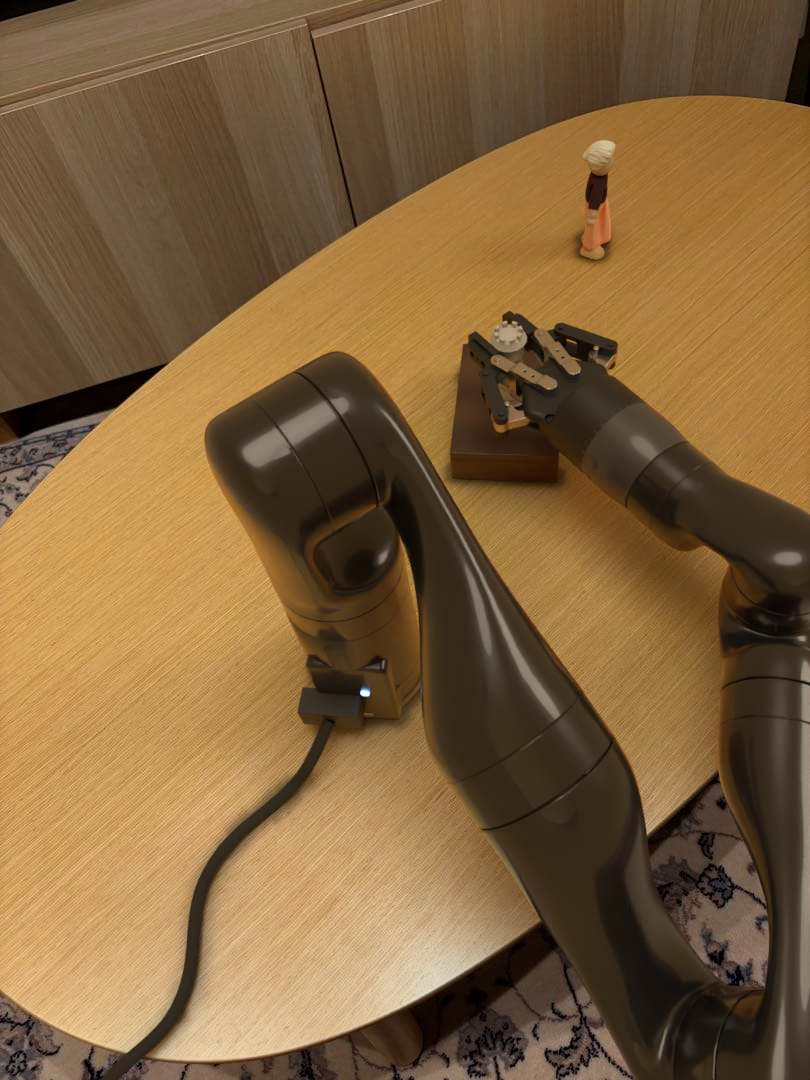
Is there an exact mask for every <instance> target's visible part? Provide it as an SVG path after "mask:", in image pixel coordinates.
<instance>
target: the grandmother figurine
mask: <svg viewBox="0 0 810 1080" xmlns="http://www.w3.org/2000/svg"><path fill="white" fill-rule="evenodd" d="M615 152H616V144H615V142H613V141H612V140H607V139H601V140H597V141H594V142H593V143H592V144H591V145H590V146H588V147H587V148H586V149H585V151H584V152H583V154H582V157H581V158H582V161H584V162H586V164H587V167H588V168H589V170H590V173H589V176H588V179H587V182H586V188H585V192H584V193H585V194H584V196H585V197H584V198H585V206H584V207H585V228H584V233H583V234H582V235H581V236H580V242H581V243H582V247H581V248H580V250H579V255H580V256H582V257H585V258H588V259H591V260H601V259H602V258H604V256H605V249H604V248H603V247H602V246H601V245H603V244H606V243H608V242H609V241H610V240H611V238H612V218H611V211H610V204H609V198H608V181H609V173H610V172H611V171H612V169H613V168H614V165H615V158H614V154H615Z"/></svg>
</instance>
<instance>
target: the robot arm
mask: <svg viewBox="0 0 810 1080" xmlns="http://www.w3.org/2000/svg"><path fill="white" fill-rule="evenodd" d="M501 320H502V321H501V323H502V322H504V321H507V325H512V321H514V322H517V323H518V327H519V326H522V328H523V331H524V332H525V333H526V335H527V342H526V344H525V345H524V346H523V347H524V349H525V350H526V351H527V352H529V351H531V350H532V351H534V355H535V357H536V358H537V359H538V361H539V362H540V363H541V365H542V366H541V367H539V368H536V369H534V370H533V369H532V368H530V367H528V366H526V365H525V364H523V363H521V362H519V363H517V364H516V363H514V362H512V361H510V360H509V359H507V358H505V357H503V356H502V355H500V352H499V351H498V350H497V349H496V348H495V347H494V346H492V345H491V342H490V341H488V340H487V339H486V338H485V337H484V336H482V335H481V334H480V333H479V332H478V331H476V330H474V331H472V332H471V333H469V334H468V335H467V340H468V342H467V344H468V354H469V356H470V358H471V359H472V360H473V361H474V362H475V363H477V365H479V366H480V367H481V368H482V369H483V370H481V371H480V372H479V386H480V395H481V398H482V401H483V404H484V406H485V409H486V412H487V414H488V417H489V420H490V423H491V425H492V428H493V431H494V433H495V436H496V437H498V438H505V437H507V436H508V434H509V429H513V428H517V427H521V426H525V425H526V426H527V427H528V428H530V429H532V430H535V431H538V432H540V433H542V434H544V435H545V436H546V438H547V439H548V440H549V442H550V443H551V444H552V445H553V446H554V447H555V448H556V449H557V450H558V451H559V454H561V455H562V456H563V457H565V458H566V460H568V462H570V463H571V464H572V465H573V466H574V467H575V468H576V469H578V471H580V472H581V473H582V474H583V476H585V477H586V478H587V479H589V481H590V482H592V483H593V484H594V485H595V486H596V488H598V489H599V490H600V491H602V493H604V494H605V495H606V496H607V497H609V498H610V499H612V500H613V501H614V502H616V503H617V504H619V505H621V506H622V507H623V508H625V510H627V511H628V512H629V513H630V514H631V515H632V516H633V517H634V518H636V520H638V521H639V522H640V523H641V524H642V525H643V526H644V527H645V528H646V529H648V530H649V531H650V532H651V533H652V534H653V535H654V536H655V537H657V538H658V540H660V541H661V542H662V543H664V544H665V545H666V546H668V547H669V548H671V549H672V550H675V551H678V552H681V553H683V552H684V553H687V552H693V551H696V550H698V549H700V548H703V547H705V548H708V549H709V550H710V551H713V552H714V553H716V554H717V555H719V556H720V557H721V558H723V560H725V561H726V562H727V563H728V566H727V568H726V571H725V573H724V576H723V579H722V581H721V584H720V589H719V595H718V603H717V604H718V605H717V606H718V607H717V608H718V609H717V631H718V643H719V652H720V660H721V666H722V674H721V679H720V686H719V687H720V688H719V700H718V701H719V704H718V719H717V738H716V761H717V771H718V777H719V782H720V786H721V790H722V794H723V796H724V799H725V802H726V805H727V808H728V810H729V812H730V814H731V817H732V819H733V822H734V823H735V826H736V828H737V830H738V833H739V834H740V837H741V838H742V841H743V843H744V845H745V847H746V850H747V852H748V855H749V857H750V859H751V861H752V863H753V866H754V868H755V870H756V874H757V877H758V881H759V884H760V887H761V890H762V893H763V897H764V903H765V908H766V917H767V924H768V927H767V928H768V954H767V966H766V973H765V980H764V981H765V982H764V987H759V986H746V985H745V986H741V985H728V984H727V983H725V982H724V981H723V980H721V979H720V978H719V976H717V975H716V974H715V973H714V972H713V971H712V970H711V969H710V967H709V966H708V965H707V964H706V963H705V961H703V959H702V958H701V957H700V955H699V954H698V953H697V951H696V950H695V949H694V948H693V946H692V945H691V943H690V941H689V940H688V938H687V937H686V936H685V934H684V933H683V931H682V930H681V928H680V927H679V926H678V924H677V922H676V921H675V919H674V918H673V917H672V915H671V914H670V912H669V910H668V908H667V907H666V905H665V903H664V901H663V900H662V897H661V895H660V893H659V890H658V888H657V885H656V882H655V879H654V875H653V870H652V864H651V857H650V852H649V841H648V833H647V832H648V831H647V824H646V817H645V811H644V806H643V801H642V795H641V791H640V786H639V783H638V779H637V776H636V774H635V771H634V769H633V766H632V764H631V761H630V760H629V758H628V756H627V754H626V752H625V751H624V749H623V747H622V746H621V744H620V742H619V741H618V739H617V737H616V736H615V735H614V733H613V732H612V730H611V729H610V727H609V726H608V724H607V723H606V722H605V720H604V719H603V717H602V716H601V714H600V713H599V712H598V710H597V708H596V707H595V705H594V704H593V702H592V701H591V700H590V698H589V697H588V696H587V693H585V691H584V689H583V688H582V686H581V685H580V684H579V682H578V681H577V680H576V678H574V676H573V675H572V673H571V671H569V669H568V668H567V667H566V665H565V664H564V662H563V661H562V660H561V659H560V658H559V655H557V653H556V652H555V651H554V649H553V648H552V646H551V645H550V644H549V642H548V641H547V640H546V638H545V637H544V636H543V634H542V633H541V631H540V630H539V628H538V627H537V626H536V624H535V623H534V622H533V620H532V619H531V617H530V616H529V614H528V613H527V612H526V610H525V609H524V607H523V606H522V605H521V603H520V602H519V600H518V599H517V598H516V596H515V595H514V593H513V592H512V590H511V589H510V588H509V586H508V585H507V583H506V582H505V581H504V579H503V577H502V575H500V573H499V571H498V570H497V568H496V566H494V564H493V562H492V560H491V559H490V557H489V556H488V555H487V553H486V552H485V549H483V546H482V545H481V543H480V542H479V540H478V538H477V536H476V535H475V533H474V532H473V530H472V529H471V527H470V525H469V524H468V522H467V520H466V519H465V517H464V514H463V513H462V512H461V509H460V508H459V507H458V505H457V503H456V501H455V500H454V498H453V496H452V495H451V493H450V491H449V490H448V488H447V486H446V485H445V482H444V481H443V478H441V476H440V474H439V472H438V471H437V468H436V467H435V466H434V464H433V461H432V460H431V459H430V457H429V455H428V454H427V453H426V451H425V449H424V447H423V446H422V444H421V442H420V441H419V438H418V437H417V435H416V434H415V432H414V430H413V429H412V428H411V426H410V424H409V422H408V421H407V419H406V417H405V416H404V414H403V413H402V411H401V410H400V408H399V406H398V405H397V404H396V402H395V400H394V399H393V397H392V396H391V395H390V393H389V392H388V391H387V390H386V388H385V387H384V385H383V384H382V382H380V380H379V379H378V378H377V377H376V375H375V374H374V373H373V372H372V371H371V370H370V369H369V368H368V367H367V366H366V365H365V364H364V363H363V362H362V361H360V360H359V359H357V358H356V357H355V356H354V355H351V354H350V353H347V352H345V351H340V350H334V351H329V352H326V353H323V354H322V355H320V356H318V357H316V358H314V359H313V360H310V361H308V362H307V363H305V364H303V365H301V366H300V367H297V368H296V369H295V370H293V371H291V372H289V373H287V374H285V375H284V376H282V377H280V378H278V379H276V380H275V381H273V382H272V383H270V384H268V385H266V386H265V387H263V388H261V389H259V390H257V391H256V392H254V393H252V394H251V395H249V396H247V397H245V398H244V399H243V400H241V401H239V402H237V403H235V404H234V405H232V406H230V407H229V408H227V409H225V410H224V411H221V413H218V414H217V415H215V416H214V417H213V418H212V419H211V420H210V421H209V422H208V423H207V425H206V427H205V431H204V435H203V446H204V452H205V456H206V460H207V463H208V465H209V468H210V471H211V473H212V476H213V478H214V480H215V481H216V483H217V485H218V487H219V489H220V491H221V493H222V494H223V496H224V499H225V500H226V502H227V504H228V505H229V506H230V508H231V510H232V511H233V513H234V515H235V516H236V518H237V519H238V521H239V523H240V524H241V526H242V528H243V529H244V531H245V533H246V535H247V537H248V538H249V540H250V542H251V544H252V546H253V548H254V550H255V552H256V554H257V556H258V558H259V560H260V562H261V564H262V566H263V569H264V570H265V572H266V575H267V576H268V578H269V581H270V583H271V585H272V587H273V589H274V591H275V593H276V596H277V598H278V599H279V602H280V604H281V606H282V608H283V611H284V612H285V614H286V617H287V619H288V621H289V623H290V625H291V627H292V630H293V631H294V633H295V636H296V637H297V641H298V642H299V644H300V646H301V648H302V650H303V653H304V654H305V656H306V661H305V669H306V672H307V673H308V676H309V677H310V680H311V681H312V684H313V686H314V687H307V686H302V688H301V693H300V697H299V703H298V707H297V715H298V716H299V718H300V720H301V722H302V723H303V725H309V726H310V725H311V726H319V729H318V731H317V733H316V735H315V738H314V739H313V742H312V744H311V747H310V748H309V751H308V752H307V755H306V756H305V758H304V760H303V762H302V763H301V765H300V767H299V768H298V770H297V771H296V773H295V774H294V775H293V776H292V777H291V779H289V781H287V782H286V784H285V785H284V786H283V787H282V788H280V790H279V791H277V793H276V794H275V795H274V796H273V797H271V798H270V799H269V800H267V802H265V803H264V804H263V805H261V807H259V808H258V809H257V810H255V811H254V812H253V813H251V815H249V816H248V817H247V818H245V820H244V821H242V822H241V823H240V824H239V825H237V827H236V828H234V829H233V830H232V831H231V832H230V833H229V834H228V835H227V836H226V837H225V839H223V841H221V842H220V844H219V845H218V847H217V848H216V849H215V850H214V851H213V853H212V854H211V856H210V857H209V858H208V860H207V863H206V864H205V866H204V867H203V869H202V871H201V873H200V874H199V875H200V876H199V878H198V879H197V881H196V885H195V887H194V890H193V894H192V899H191V902H190V908H189V913H188V922H187V933H186V947H185V956H184V963H183V970H182V974H181V978H180V982H179V985H178V987H177V992H176V993H175V996H174V998H173V1000H172V1003H171V1004H170V1007H169V1008H168V1010H167V1012H166V1014H165V1015H164V1016H163V1018H162V1019H161V1020H160V1021H159V1022H158V1024H157V1025H156V1026H155V1027H154V1028H153V1029H152V1030H151V1031H150V1032H149V1033H148V1034H147V1035H146V1036H145V1037H143V1039H142V1040H140V1041H139V1042H138V1043H137V1044H136V1045H134V1046H133V1047H132V1048H131V1049H129V1050H128V1051H127V1052H126V1053H125V1054H124V1055H123V1056H121V1057H120V1058H119V1059H118V1060H117V1061H116V1062H115V1063H114V1064H113V1065H112V1066H111V1067H110V1068H109V1069H107V1071H106V1073H105V1074H104V1075H103V1076H102V1078H101V1080H120V1079H121V1078H122V1077H123V1076H124V1075H125V1074H126V1073H127V1072H128V1071H129V1070H131V1069H132V1068H133V1067H134V1066H136V1064H138V1063H139V1061H141V1060H142V1059H143V1058H144V1057H146V1056H148V1054H149V1053H151V1052H152V1050H154V1048H156V1047H157V1046H158V1045H159V1044H160V1043H161V1042H162V1041H163V1040H164V1039H165V1037H166V1036H168V1034H169V1033H170V1032H171V1031H172V1030H173V1028H174V1027H175V1025H176V1024H177V1023H178V1021H179V1019H180V1017H181V1016H182V1014H183V1012H184V1009H185V1008H186V1005H187V1003H188V1001H189V999H190V996H191V994H192V990H193V987H194V983H195V979H196V975H197V971H198V965H199V964H198V963H199V954H200V941H201V929H202V919H203V912H204V905H205V900H206V897H207V894H208V890H209V888H210V886H211V883H212V881H213V879H214V877H215V874H216V873H217V871H218V869H219V868H220V866H221V864H222V863H223V862H224V860H225V859H226V858H227V856H228V855H229V854H230V852H231V851H232V850H233V849H234V848H235V847H236V846H237V845H238V844H239V843H240V842H241V841H242V840H243V839H244V838H246V836H247V835H249V834H250V833H251V832H252V831H253V830H254V829H256V828H257V827H258V826H259V825H260V824H261V823H263V822H264V821H265V820H266V819H267V818H269V817H270V816H271V815H272V814H274V813H275V812H276V811H277V810H279V809H280V808H281V807H282V806H283V805H284V804H285V803H286V802H288V800H289V799H291V798H292V796H293V795H294V794H295V793H296V792H297V791H298V790H299V789H300V788H301V786H302V785H304V783H306V781H307V780H308V779H309V777H310V775H311V774H312V773H313V771H314V769H315V767H316V765H317V764H318V762H319V760H320V758H321V756H322V754H323V752H324V750H325V748H326V745H327V744H328V741H329V738H330V736H331V735H332V732H333V730H334V728H344V729H345V728H346V729H357V730H362V729H363V723H364V718H375V719H376V718H377V719H388V720H389V719H390V720H399V719H401V717H402V712H403V708H404V706H406V705H407V704H408V703H409V702H410V701H411V700H412V699H413V698H414V697H415V696H416V695H417V693H418V692H419V690H420V700H421V701H420V702H421V716H422V725H423V731H424V732H423V733H424V738H425V742H426V746H427V749H428V752H429V754H430V758H432V761H433V763H434V765H435V767H436V768H437V770H438V771H439V773H440V774H441V777H442V778H443V779H444V780H445V782H446V783H447V785H448V786H449V788H450V789H451V791H452V793H453V794H454V795H455V798H457V800H458V801H459V803H460V805H461V806H462V807H463V809H464V810H465V812H466V813H467V815H468V816H469V817H470V819H471V821H472V822H473V824H474V825H475V826H476V827H477V830H478V831H479V832H480V834H481V836H483V838H484V839H485V841H486V842H487V843H488V844H489V846H490V847H491V848H492V850H493V851H494V852H495V854H496V855H497V856H498V858H499V860H500V861H501V862H502V863H503V865H504V866H505V868H506V869H507V871H508V872H509V874H510V875H511V877H512V879H513V880H514V882H515V884H516V885H517V886H518V888H519V890H521V892H522V894H523V895H524V897H525V898H526V900H527V901H528V903H529V905H530V907H531V908H532V909H533V911H534V913H535V914H536V915H537V917H538V918H539V920H540V922H541V924H542V925H543V926H544V928H545V929H546V931H547V932H548V934H549V935H550V936H551V938H552V939H553V941H554V942H555V944H556V945H557V947H558V948H559V949H560V951H561V952H562V954H563V955H564V957H565V958H566V960H567V961H568V963H569V964H570V965H571V967H572V969H573V970H574V973H575V974H576V975H577V977H578V978H579V980H580V981H581V984H582V986H583V987H584V989H585V990H586V993H587V994H588V996H589V998H590V999H591V1002H592V1003H593V1006H594V1007H595V1008H596V1010H597V1012H598V1014H599V1016H600V1018H601V1019H602V1022H603V1023H604V1025H605V1028H606V1029H607V1031H608V1033H609V1035H610V1037H611V1038H612V1041H613V1042H614V1044H615V1047H616V1048H617V1050H618V1052H619V1053H620V1055H621V1057H622V1059H623V1061H624V1063H625V1065H626V1066H627V1068H628V1070H629V1073H630V1074H631V1076H632V1078H633V1080H810V513H809V512H808V511H806V510H804V509H803V508H801V507H799V506H797V505H795V504H793V503H791V502H789V501H787V500H785V499H783V498H781V497H779V496H777V495H774V494H772V493H770V492H768V491H766V490H764V489H762V488H760V487H757V486H756V485H753V484H751V483H748V482H746V481H743V480H741V479H739V478H736V477H733V476H731V475H730V474H728V473H727V472H726V471H725V470H724V469H722V468H721V466H719V464H716V462H714V460H712V459H711V458H709V456H707V455H706V454H704V453H703V452H702V451H701V450H699V448H697V447H696V446H695V445H694V444H692V443H691V442H690V441H689V440H688V439H687V438H686V437H685V436H684V435H683V434H682V433H681V431H680V430H679V429H678V428H677V427H676V426H675V425H674V424H673V423H672V422H671V421H669V420H668V419H667V418H666V417H664V415H662V414H661V413H660V412H658V411H657V410H656V409H655V408H653V407H652V406H651V405H650V404H648V402H647V401H646V400H644V399H643V398H642V397H640V396H639V395H638V394H636V393H635V392H634V391H633V390H632V389H630V388H629V386H626V385H625V384H624V383H623V382H622V381H620V380H619V378H617V377H616V376H613V375H611V374H609V370H613V369H614V368H615V367H616V364H617V359H618V349H619V348H618V347H619V343H618V342H617V341H616V340H614V339H611V338H608V337H605V336H603V335H599V334H596V333H595V332H591V331H588V330H585V329H582V328H580V327H576V326H574V325H571V324H568V323H565V322H558V323H556V324H554V327H553V328H551V329H548V330H547V329H545V328H538V327H537V326H536V325H535V324H533V322H531V321H530V320H529V319H527V318H526V317H525V316H524V315H522V314H521V313H517V312H516V313H514V312H513V311H511V310H508V311H507V312H505V313H503V314H502V316H501ZM498 386H500V387H501V388H503V389H505V390H507V391H508V392H509V394H510V396H511V397H512V398H514V399H515V400H517V401H519V402H520V403H522V404H523V411H519V410H516V409H515V408H514V406H513V405H511V404H510V402H508V401H506V402H505V403H504V400H503V398H502V395H501V393H500V390H499V387H498ZM403 547H404V548H403ZM404 550H405V554H406V556H407V559H408V562H409V566H410V570H411V575H412V581H413V585H414V591H415V598H416V606H417V611H416V608H415V604H414V603H415V602H414V599H413V593H412V588H411V584H410V583H411V582H410V581H409V574H408V569H407V563H406V558H405V554H404ZM416 612H417V613H418V615H417V613H416ZM417 616H418V619H417Z"/></svg>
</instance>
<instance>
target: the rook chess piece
mask: <svg viewBox="0 0 810 1080" xmlns="http://www.w3.org/2000/svg"><path fill="white" fill-rule="evenodd" d="M526 342H527V335H526V333H525V332H524V331H523V328H522V326H519V327H518V323H517V322H514V321H512V325H507V321H504V322H502V321H501V326H500V325H499V324H497V325H496V326H495V327H494V331H493V332H492V333H491V335H490V338H489V343H490V344H491V345H492V346H494V347H495V348H496V349H497V350H498V351H499V352H500V355H502V356H503V357H505V358H507V359H509V360H510V361H512V362H514V363H516V364H517V363H519V362H521V363H523V359H522V356H523V355H524V350H525V349H524V347H523V346H524V345H525V344H526ZM498 387H499V390H500V393H501V395H502V398H503V400H504V403H505V402H506V401H508V402H510V404H511V405H513V406H514V407H518V406H520V405H522V403H520V402H519V401H517V400H515V399H514V398H512V397H511V396H510V394H509V392H508V391H507V390H505V389H503V388H501V387H500V386H498Z"/></svg>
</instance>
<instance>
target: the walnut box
mask: <svg viewBox="0 0 810 1080" xmlns="http://www.w3.org/2000/svg"><path fill="white" fill-rule="evenodd" d="M461 350H462V351H461V357H460V364H459V365H460V366H459V373H458V382H457V390H456V392H457V393H456V399H455V407H454V414H453V417H454V418H453V423H452V430H451V431H452V432H451V440H450V447H449V449H450V450H449V459H450V470H451V478H452V479H455V480H456V479H460V480H485V481H507V482H508V481H512V482H535V483H536V482H537V483H539V482H540V483H558V480H559V467H560V466H559V465H560V452H559V451H558V450H557V449H556V448H555V447H554V446H553V445H552V444H551V443H550V442H549V440H548V439H547V438H546V436H545V435H544V434H542V433H540V432H538V431H535V430H532V429H530V428H528V427H527V426H526V425H525V426H521V427H517V428H513V429H509V434H508V436H507V437H505V438H498V437H496V436H495V433H494V431H493V428H492V425H491V423H490V420H489V417H488V414H487V412H486V409H485V406H484V404H483V401H482V398H481V395H480V386H479V372H480V371H481V370H483V369H482V368H481V367H480V366H479V365H477V363H475V362H474V361H473V360H472V359H471V358H470V356H469V354H468V343H463V344H462V348H461ZM522 359H523V364H525V365H526V366H528V367H530V368H532V369H533V370H534V369H536V368H539V367H541V366H542V365H541V363H540V362H539V361H538V359H537V358H536V357H535V355H534V351H532V350H531V351H529V352H527V351H526V350H524V355H523V356H522ZM514 408H515V409H516V410H519V411H523V404H522V405H520V406H518V407H514Z"/></svg>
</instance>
